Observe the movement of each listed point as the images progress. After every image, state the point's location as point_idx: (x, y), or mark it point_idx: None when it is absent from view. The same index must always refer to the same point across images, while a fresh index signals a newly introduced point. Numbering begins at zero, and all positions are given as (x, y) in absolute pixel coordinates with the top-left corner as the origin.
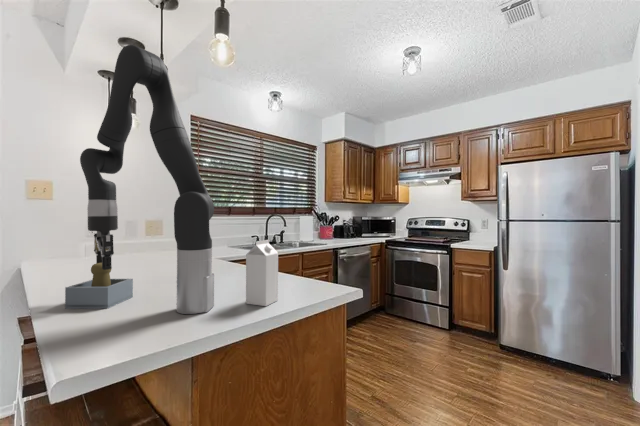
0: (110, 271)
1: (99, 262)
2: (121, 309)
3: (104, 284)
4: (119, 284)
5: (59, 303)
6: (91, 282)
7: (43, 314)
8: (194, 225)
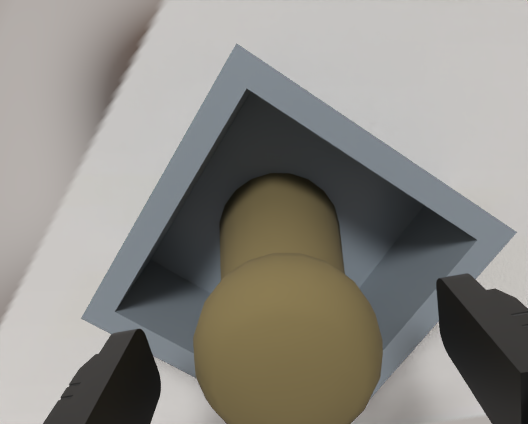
0: (306, 256)
1: (144, 402)
2: (517, 126)
3: (340, 254)
4: (399, 154)
5: (188, 387)
6: (166, 329)
7: (364, 415)
8: None
